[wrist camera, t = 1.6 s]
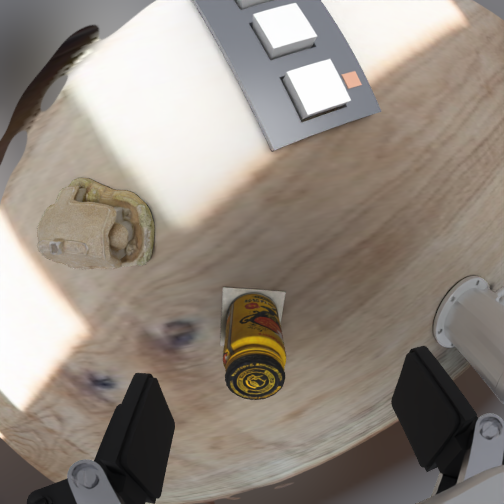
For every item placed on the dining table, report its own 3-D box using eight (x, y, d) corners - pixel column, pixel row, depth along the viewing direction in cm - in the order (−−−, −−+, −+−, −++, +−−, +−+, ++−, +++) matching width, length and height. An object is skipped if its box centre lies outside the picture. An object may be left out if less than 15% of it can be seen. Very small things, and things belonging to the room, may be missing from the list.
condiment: (285, 291, 33) (301, 355, 21) (276, 348, 35) (285, 418, 24) (223, 286, 33) (210, 350, 21) (220, 344, 35) (210, 414, 24)
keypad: (284, -30, 20) (287, -44, 17) (369, 115, 26) (382, 111, 23) (191, -2, 21) (185, -15, 18) (271, 151, 28) (274, 150, 25)
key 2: (291, 17, 21) (295, 2, 18) (309, 49, 22) (317, 36, 19) (252, 29, 22) (252, 14, 18) (271, 61, 23) (273, 48, 20)
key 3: (321, 69, 23) (330, 58, 20) (339, 106, 24) (351, 100, 21) (282, 82, 24) (286, 71, 20) (300, 120, 25) (308, 115, 22)
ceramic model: (64, 261, 32) (19, 293, 22) (58, 178, 28) (4, 189, 19) (157, 273, 32) (125, 316, 23) (157, 176, 29) (117, 186, 19)
